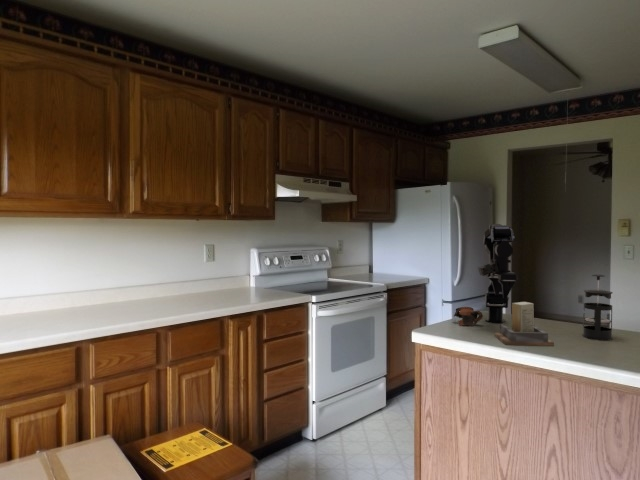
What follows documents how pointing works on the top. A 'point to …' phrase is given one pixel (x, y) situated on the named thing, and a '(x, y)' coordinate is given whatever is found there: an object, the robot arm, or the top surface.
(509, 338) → the rail holder
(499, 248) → the robot arm
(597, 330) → the french press
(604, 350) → the top surface
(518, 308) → the skincare box
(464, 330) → the top surface
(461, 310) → the pottery mug
